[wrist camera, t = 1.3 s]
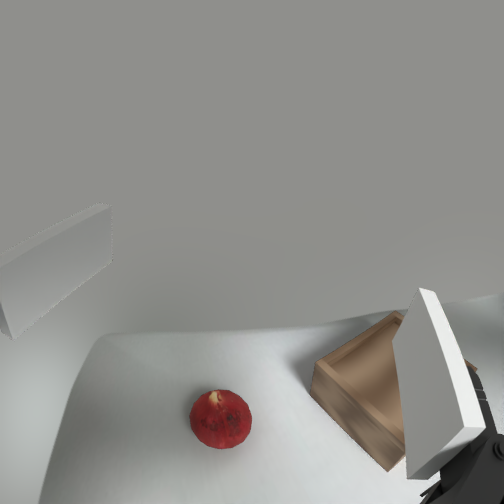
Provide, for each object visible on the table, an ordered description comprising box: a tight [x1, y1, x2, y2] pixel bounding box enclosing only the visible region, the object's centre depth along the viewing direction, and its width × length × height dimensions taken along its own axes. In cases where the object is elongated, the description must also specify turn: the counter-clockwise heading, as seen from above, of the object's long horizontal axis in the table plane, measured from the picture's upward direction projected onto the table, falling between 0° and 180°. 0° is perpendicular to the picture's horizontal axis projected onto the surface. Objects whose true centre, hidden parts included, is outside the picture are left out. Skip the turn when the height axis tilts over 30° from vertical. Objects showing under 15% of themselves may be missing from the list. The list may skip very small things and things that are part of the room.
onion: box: [190, 390, 252, 449], centre depth 27 cm, size 6×6×8 cm
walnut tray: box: [310, 310, 477, 472], centre depth 29 cm, size 13×13×6 cm
